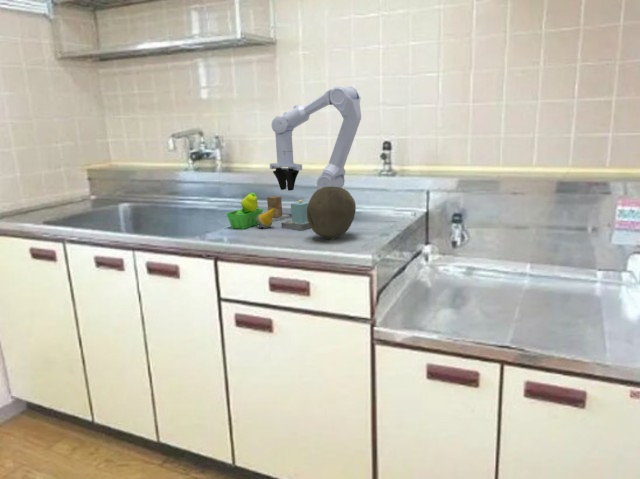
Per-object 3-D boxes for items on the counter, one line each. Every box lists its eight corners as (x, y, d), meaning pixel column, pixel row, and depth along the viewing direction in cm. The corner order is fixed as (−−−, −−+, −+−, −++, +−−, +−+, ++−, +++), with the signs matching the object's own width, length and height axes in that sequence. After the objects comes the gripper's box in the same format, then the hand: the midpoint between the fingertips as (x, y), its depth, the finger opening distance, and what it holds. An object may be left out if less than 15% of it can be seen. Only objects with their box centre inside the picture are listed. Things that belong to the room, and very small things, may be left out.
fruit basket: (247, 221, 187) (244, 189, 184) (268, 223, 182) (265, 190, 180) (226, 228, 177) (223, 194, 175) (247, 230, 173) (244, 195, 170)
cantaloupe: (353, 243, 149) (351, 190, 146) (304, 243, 152) (300, 191, 148) (359, 232, 163) (357, 182, 159) (313, 232, 165) (310, 184, 162)
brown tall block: (274, 214, 191) (273, 196, 189) (282, 215, 188) (281, 196, 187) (268, 216, 189) (267, 197, 187) (276, 217, 186) (274, 198, 185)
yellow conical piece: (266, 226, 180) (283, 207, 175) (264, 236, 176) (281, 216, 171) (253, 218, 178) (269, 198, 173) (250, 227, 174) (267, 208, 169)
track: (280, 216, 194) (280, 213, 193) (289, 217, 191) (289, 215, 190) (257, 221, 186) (257, 219, 186) (266, 222, 183) (265, 220, 183)
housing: (301, 219, 178) (300, 198, 176) (311, 220, 175) (310, 199, 173) (291, 221, 174) (290, 200, 173) (301, 223, 171) (300, 201, 170)
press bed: (303, 222, 181) (302, 217, 181) (322, 224, 175) (322, 220, 175) (281, 227, 174) (281, 222, 174) (301, 230, 168) (301, 225, 168)
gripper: (262, 152, 190) (265, 190, 193) (291, 152, 180) (293, 192, 184) (276, 150, 195) (279, 187, 198) (305, 150, 185) (307, 189, 189)
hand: (287, 189), depth 191 cm, fingers open, 3 cm apart
